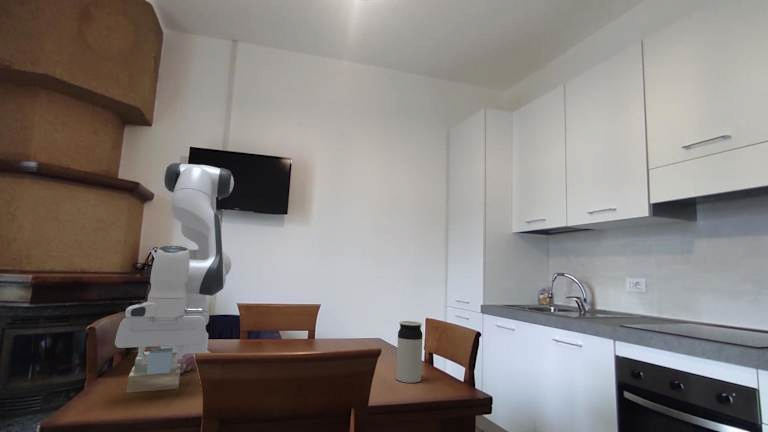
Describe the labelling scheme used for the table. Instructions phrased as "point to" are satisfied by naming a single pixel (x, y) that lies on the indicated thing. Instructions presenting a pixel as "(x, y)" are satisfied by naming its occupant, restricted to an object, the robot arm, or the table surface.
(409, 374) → the travel mug
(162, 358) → the slate brick
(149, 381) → the cream stepped block
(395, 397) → the table surface
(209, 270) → the robot arm
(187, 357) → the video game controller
